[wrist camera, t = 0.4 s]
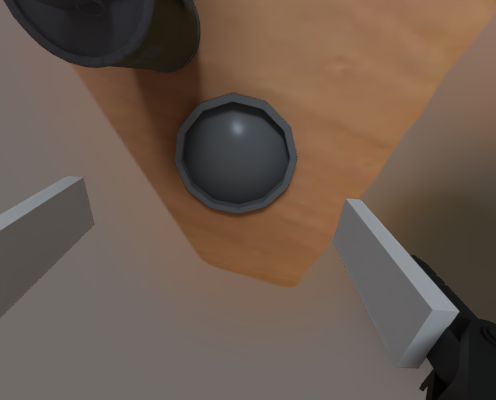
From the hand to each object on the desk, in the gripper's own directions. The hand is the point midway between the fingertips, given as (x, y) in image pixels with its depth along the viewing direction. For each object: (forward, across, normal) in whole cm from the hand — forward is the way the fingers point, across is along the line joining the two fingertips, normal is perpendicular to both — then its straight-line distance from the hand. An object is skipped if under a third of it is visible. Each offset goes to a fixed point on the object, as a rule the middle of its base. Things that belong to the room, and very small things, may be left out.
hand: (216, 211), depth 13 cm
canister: (+27, -10, +11) cm, 31 cm away
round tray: (+27, 0, -6) cm, 27 cm away
